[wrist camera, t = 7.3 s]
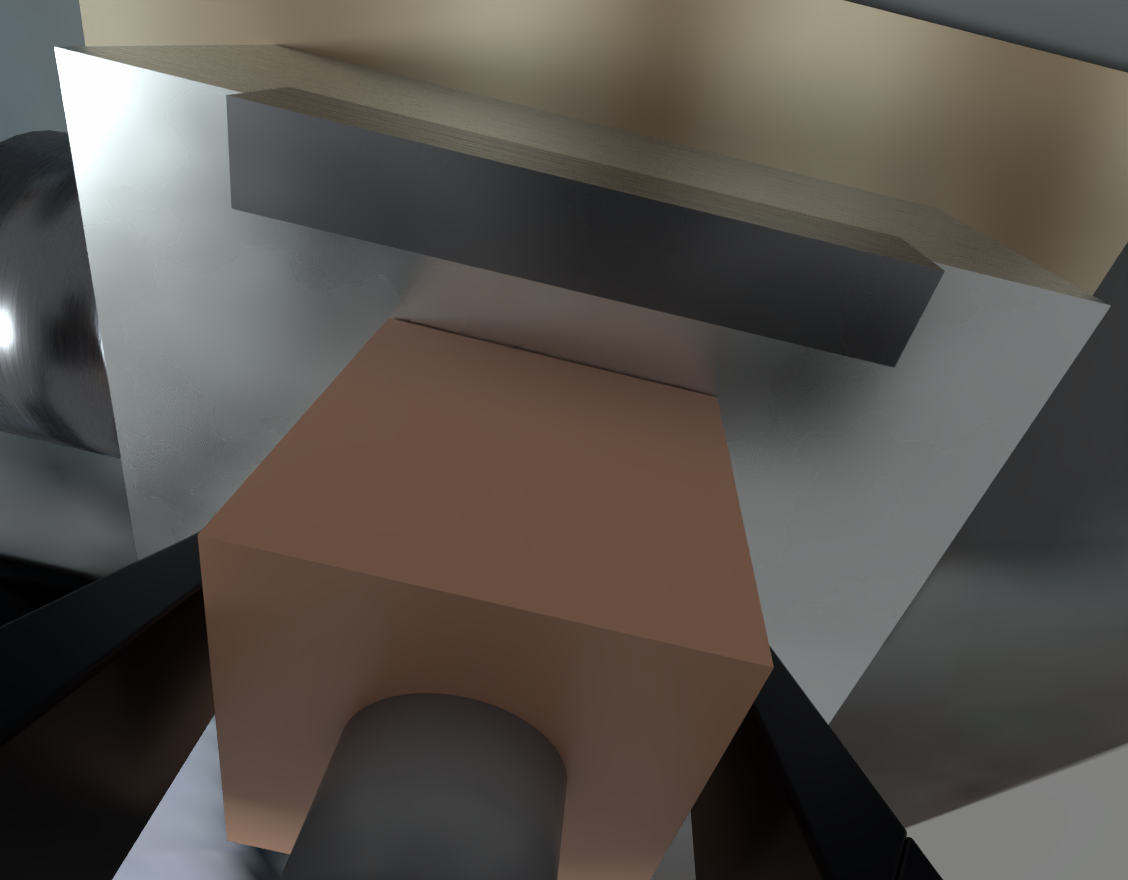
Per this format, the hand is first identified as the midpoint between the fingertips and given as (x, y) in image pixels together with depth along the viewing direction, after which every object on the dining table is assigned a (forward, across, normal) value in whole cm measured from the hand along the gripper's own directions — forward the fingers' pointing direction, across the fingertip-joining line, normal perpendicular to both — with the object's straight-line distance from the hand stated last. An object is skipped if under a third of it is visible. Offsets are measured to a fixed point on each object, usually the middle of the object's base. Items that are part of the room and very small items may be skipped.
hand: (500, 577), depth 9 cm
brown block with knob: (+2, 0, 0) cm, 2 cm away
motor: (+8, +2, 0) cm, 8 cm away
